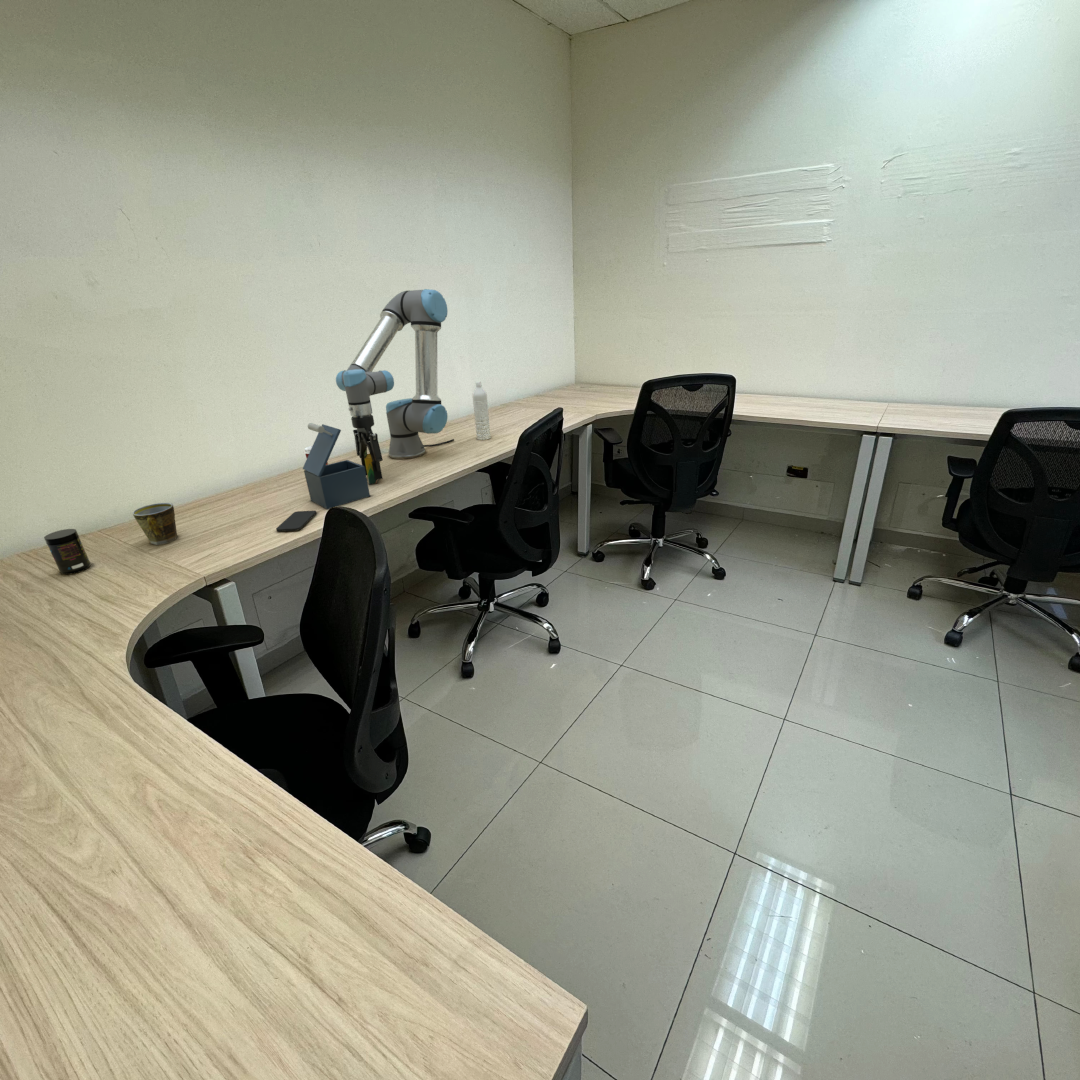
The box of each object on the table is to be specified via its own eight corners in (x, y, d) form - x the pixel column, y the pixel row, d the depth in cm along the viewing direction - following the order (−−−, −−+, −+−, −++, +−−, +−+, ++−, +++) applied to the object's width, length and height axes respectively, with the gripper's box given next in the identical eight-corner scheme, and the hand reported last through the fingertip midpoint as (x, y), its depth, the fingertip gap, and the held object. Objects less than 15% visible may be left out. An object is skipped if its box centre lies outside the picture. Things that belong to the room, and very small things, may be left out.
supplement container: (84, 561, 152) (69, 527, 148) (96, 566, 149) (81, 531, 145) (55, 572, 147) (38, 536, 142) (67, 577, 144) (50, 541, 139)
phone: (317, 510, 178) (299, 528, 164) (318, 512, 178) (299, 530, 164) (294, 511, 178) (274, 529, 164) (295, 513, 178) (275, 532, 164)
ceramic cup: (148, 537, 166) (136, 506, 162) (186, 530, 169) (175, 500, 165) (139, 554, 155) (126, 521, 151) (179, 546, 158) (168, 514, 154)
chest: (353, 488, 199) (347, 459, 194) (370, 496, 190) (364, 466, 186) (310, 500, 189) (303, 470, 184) (326, 509, 181) (319, 477, 176)
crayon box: (377, 483, 202) (371, 452, 197) (368, 484, 202) (362, 453, 197) (379, 477, 209) (373, 447, 204) (371, 478, 209) (365, 448, 204)
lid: (324, 425, 185) (308, 417, 181) (341, 430, 177) (324, 421, 172) (304, 469, 185) (287, 462, 180) (320, 476, 176) (303, 469, 172)
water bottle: (491, 439, 254) (486, 383, 243) (476, 440, 253) (471, 384, 243) (490, 435, 262) (485, 381, 251) (476, 436, 261) (471, 382, 251)
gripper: (338, 414, 200) (351, 474, 209) (366, 421, 186) (377, 485, 196) (357, 410, 204) (369, 469, 214) (385, 416, 191) (396, 479, 200)
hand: (373, 476), depth 205 cm, fingers closed on crayon box, 7 cm apart
